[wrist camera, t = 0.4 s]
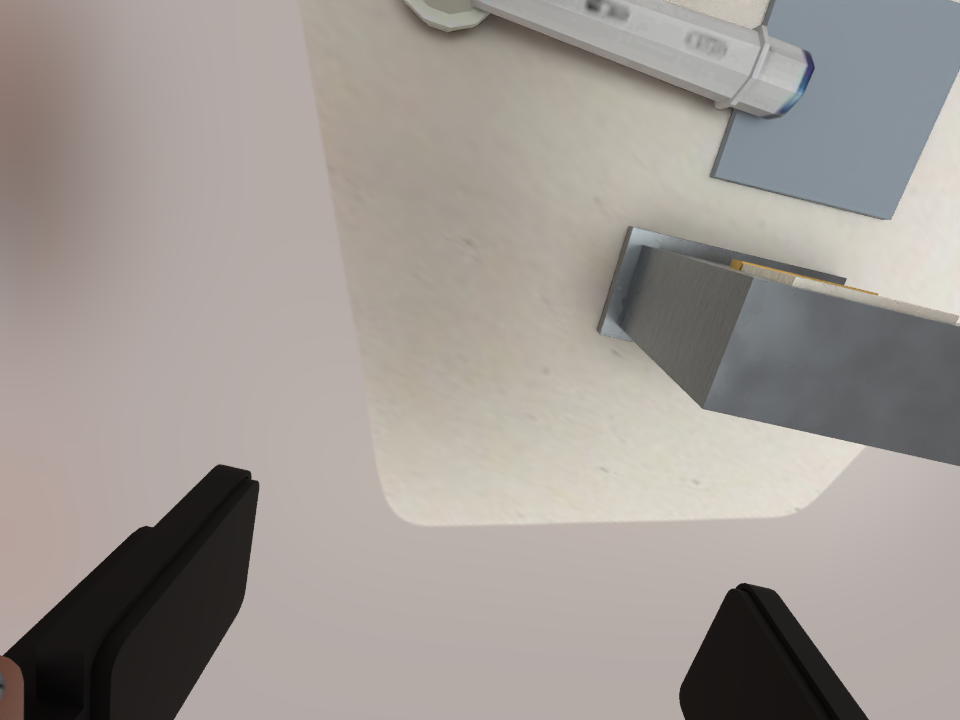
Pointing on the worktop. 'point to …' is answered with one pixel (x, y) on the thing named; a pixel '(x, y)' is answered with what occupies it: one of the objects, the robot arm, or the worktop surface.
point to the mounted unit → (790, 345)
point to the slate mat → (850, 103)
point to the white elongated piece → (656, 45)
